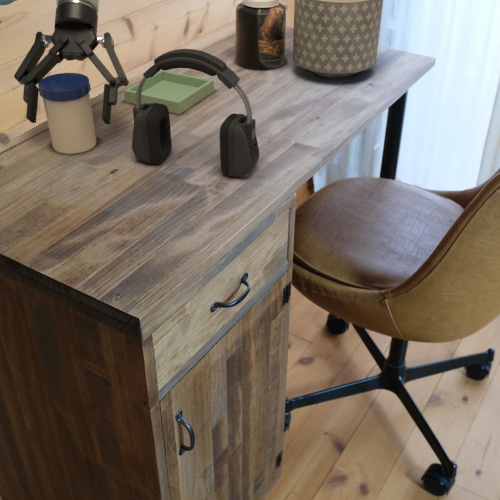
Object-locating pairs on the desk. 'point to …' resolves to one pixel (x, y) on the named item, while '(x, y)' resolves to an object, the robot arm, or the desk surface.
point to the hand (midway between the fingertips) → (68, 121)
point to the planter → (336, 35)
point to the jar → (260, 34)
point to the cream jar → (71, 125)
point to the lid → (64, 86)
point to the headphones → (158, 122)
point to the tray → (171, 90)
